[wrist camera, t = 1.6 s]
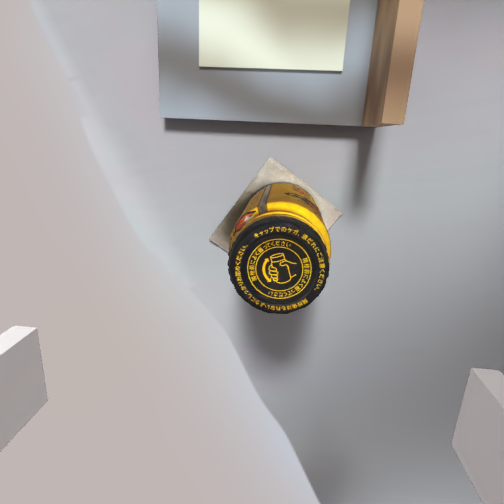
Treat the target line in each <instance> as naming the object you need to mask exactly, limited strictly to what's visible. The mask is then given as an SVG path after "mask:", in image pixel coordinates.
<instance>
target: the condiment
mask: <svg viewBox="0 0 504 504" xmlns="http://www.w3.org/2000/svg"><path fill="white" fill-rule="evenodd" d="M342 214H343V213H342V212H340V211H339V210H338V209H337V208H335V207H334V206H333V205H332V204H330V203H329V202H328V201H327V200H325V199H324V198H323V197H322V196H320V195H319V194H318V193H316V192H315V191H314V190H313V189H311V188H310V187H309V186H308V185H306V184H305V183H304V182H302V181H301V180H300V179H299V178H297V177H296V176H295V175H294V174H292V173H291V172H290V171H289V170H287V169H286V168H284V167H283V166H282V165H281V164H279V163H278V162H277V161H276V160H274V159H273V158H272V157H271V156H270V158H269V159H268V160H267V162H266V163H265V164H264V166H263V167H262V168H261V170H260V171H259V173H258V174H257V175H256V177H255V178H254V179H253V181H252V182H251V183H250V185H249V186H248V187H247V189H246V190H245V191H244V193H243V194H242V195H241V197H240V198H239V199H238V201H237V202H236V204H235V205H234V206H233V208H232V209H231V210H230V212H229V213H228V214H227V216H226V217H225V218H224V220H223V221H222V222H221V224H220V225H219V226H218V228H217V229H216V230H215V232H214V233H213V235H212V236H211V237H210V239H209V240H211V241H212V242H213V243H215V244H216V245H218V246H220V247H221V248H222V249H224V250H225V251H226V252H228V256H229V260H228V266H229V269H228V271H229V275H230V280H231V282H232V284H234V287H235V289H236V291H237V293H238V294H239V295H240V296H241V297H242V298H243V299H244V300H245V301H246V302H248V303H249V304H250V305H251V306H253V307H255V308H257V309H259V310H262V311H264V312H267V313H277V314H288V313H290V312H293V311H296V310H299V309H301V308H304V307H306V306H308V305H309V304H310V303H311V302H312V301H313V300H314V299H315V298H316V297H318V295H319V294H320V293H321V291H322V290H323V288H324V287H325V284H326V279H327V277H328V276H329V261H330V257H331V243H330V238H329V233H328V230H329V228H330V227H331V226H332V225H333V224H334V223H335V221H336V220H337V219H338V218H339V217H340V216H341V215H342Z"/></svg>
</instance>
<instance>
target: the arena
mask: <svg viewBox="0 0 504 504" xmlns="http://www.w3.org/2000/svg"><path fill="white" fill-rule="evenodd" d="M423 3H424V0H157V25H158V57H159V89H160V117H161V118H175V119H198V120H221V121H244V122H267V123H289V124H312V125H335V126H358V127H382V126H391V125H400V124H404V119H405V113H406V107H407V101H408V95H409V89H410V83H411V77H412V70H413V64H414V58H415V52H416V46H417V40H418V34H419V28H420V22H421V16H422V9H423Z"/></svg>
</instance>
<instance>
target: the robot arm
mask: <svg viewBox="0 0 504 504" xmlns="http://www.w3.org/2000/svg"><path fill="white" fill-rule="evenodd" d="M47 401H48V398H47V391H46V384H45V377H44V371H43V364H42V358H41V351H40V344H39V338H38V331H37V328H33V327H23V326H13V327H11V328H10V329H8V330H7V331H5V332H4V333H3V334H1V335H0V452H1V450H3V448H4V447H5V446H6V445H7V444H8V443H9V442H10V441H11V440H12V439H13V438H14V437H15V436H16V434H17V433H18V432H19V431H20V430H21V429H22V428H23V427H24V426H25V425H26V424H27V422H28V421H29V420H30V419H31V418H32V417H33V416H34V415H35V414H36V413H37V412H38V411H39V409H40V408H41V407H42V406H43V405H44V404H45V403H46V402H47ZM451 445H452V447H453V449H454V451H455V452H456V454H457V456H458V458H459V460H460V462H461V464H462V465H463V467H464V469H465V471H466V473H467V475H468V477H469V479H470V480H471V482H472V484H473V486H474V488H475V490H476V492H477V493H478V495H479V497H480V499H481V501H482V503H483V504H504V375H503V374H502V373H501V372H500V371H499V370H491V369H480V368H471V370H470V374H469V378H468V381H467V385H466V389H465V393H464V397H463V400H462V404H461V408H460V412H459V416H458V419H457V423H456V427H455V431H454V435H453V438H452V442H451Z"/></svg>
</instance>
